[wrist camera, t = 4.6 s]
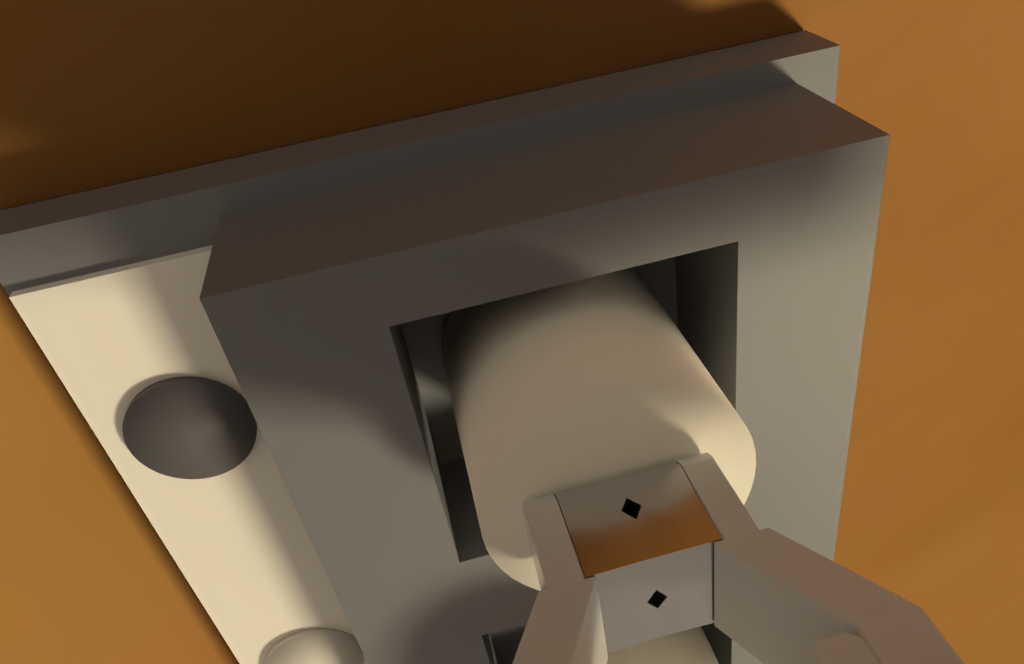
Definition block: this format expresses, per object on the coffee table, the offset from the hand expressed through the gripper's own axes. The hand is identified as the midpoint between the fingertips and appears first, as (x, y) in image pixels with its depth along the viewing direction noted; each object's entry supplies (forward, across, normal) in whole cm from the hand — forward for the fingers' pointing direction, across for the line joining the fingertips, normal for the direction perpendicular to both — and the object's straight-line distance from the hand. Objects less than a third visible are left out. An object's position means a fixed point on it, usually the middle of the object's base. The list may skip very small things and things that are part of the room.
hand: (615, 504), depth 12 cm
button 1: (+4, 0, 0) cm, 4 cm away
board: (+6, +1, +8) cm, 10 cm away
